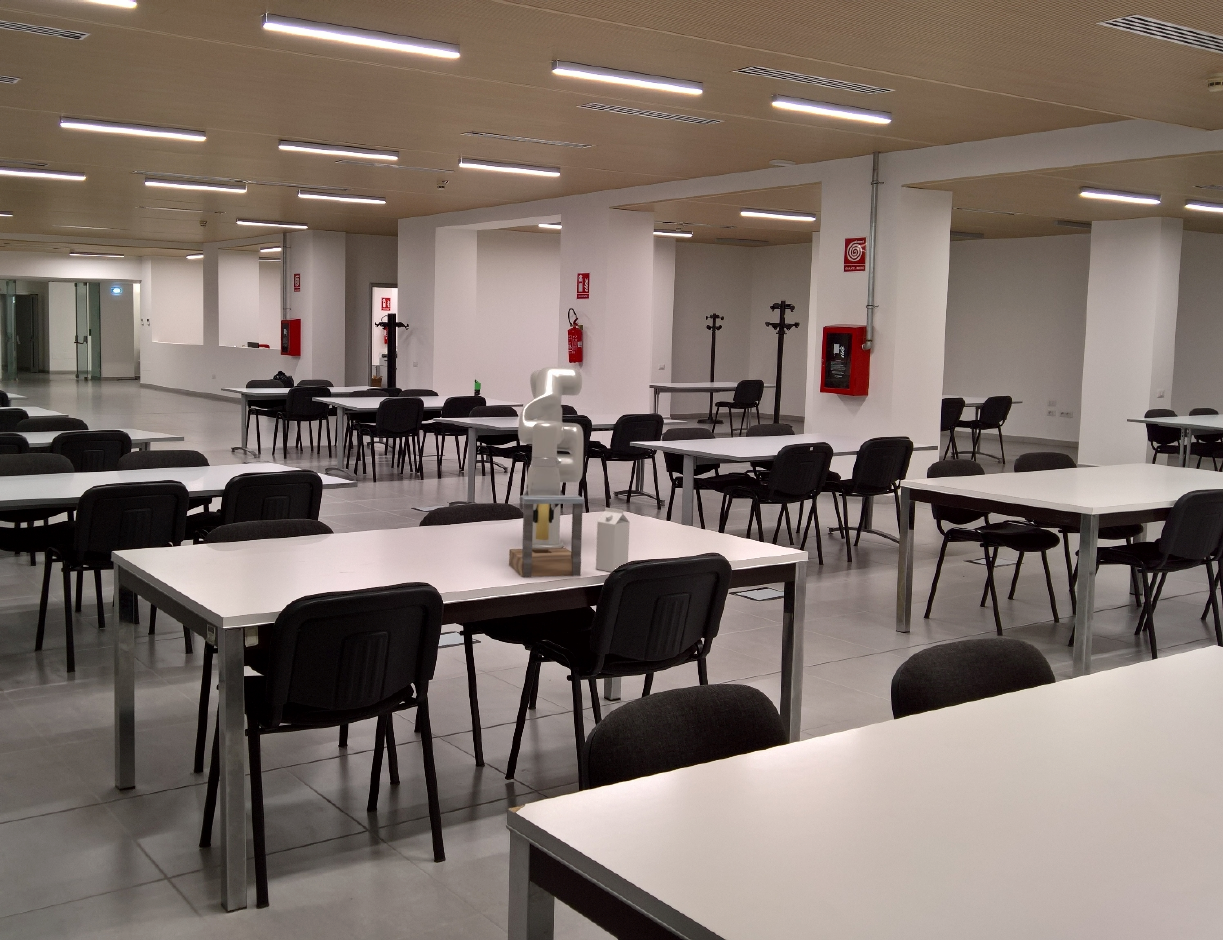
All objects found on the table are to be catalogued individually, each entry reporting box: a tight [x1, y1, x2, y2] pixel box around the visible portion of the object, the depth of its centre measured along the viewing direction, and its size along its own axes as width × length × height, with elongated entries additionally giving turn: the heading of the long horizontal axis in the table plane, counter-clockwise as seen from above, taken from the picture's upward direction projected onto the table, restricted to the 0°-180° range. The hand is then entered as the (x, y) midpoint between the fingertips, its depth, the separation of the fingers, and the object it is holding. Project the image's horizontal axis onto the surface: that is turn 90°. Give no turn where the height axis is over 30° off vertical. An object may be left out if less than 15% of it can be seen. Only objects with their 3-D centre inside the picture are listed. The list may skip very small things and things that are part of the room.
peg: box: [536, 504, 550, 540], centre depth 344 cm, size 4×4×14 cm
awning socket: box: [508, 494, 585, 578], centre depth 340 cm, size 20×18×23 cm
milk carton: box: [595, 507, 631, 573], centre depth 346 cm, size 7×7×19 cm
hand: (542, 521), depth 344 cm, fingers closed on peg, 4 cm apart
